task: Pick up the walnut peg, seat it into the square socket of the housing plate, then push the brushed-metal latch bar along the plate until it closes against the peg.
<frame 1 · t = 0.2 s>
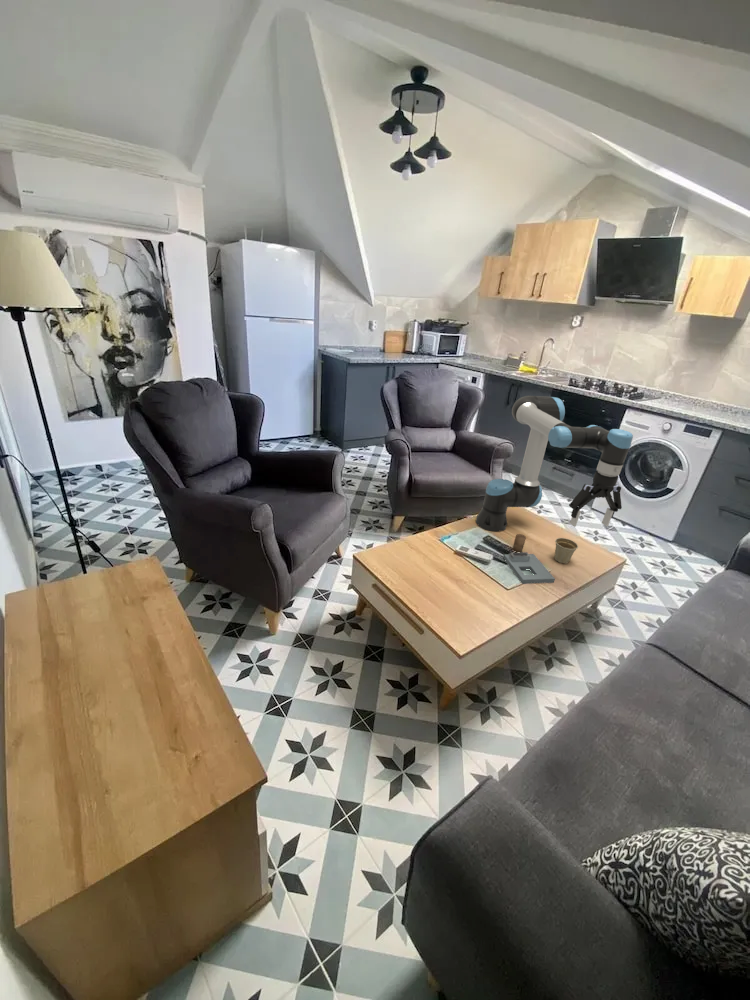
hand: (588, 524, 158), 27 cm above the table, fingers open, 13 cm apart
walnut peg: (516, 551, 188), on the table
latch bar: (519, 556, 178), point 4 cm above the table, slide at 0.0 cm
flower pot: (561, 560, 185), on the table
housing plate: (527, 570, 176), on the table
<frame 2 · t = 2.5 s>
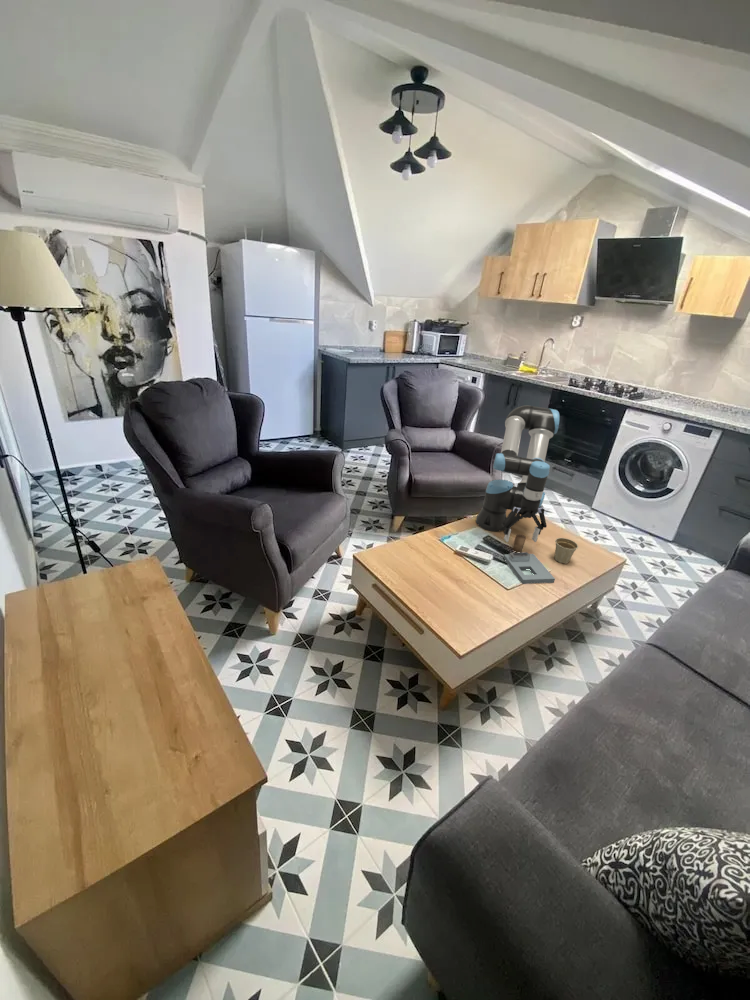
hand: (520, 540, 185), 6 cm above the table, fingers open, 13 cm apart
nothing on the table moved.
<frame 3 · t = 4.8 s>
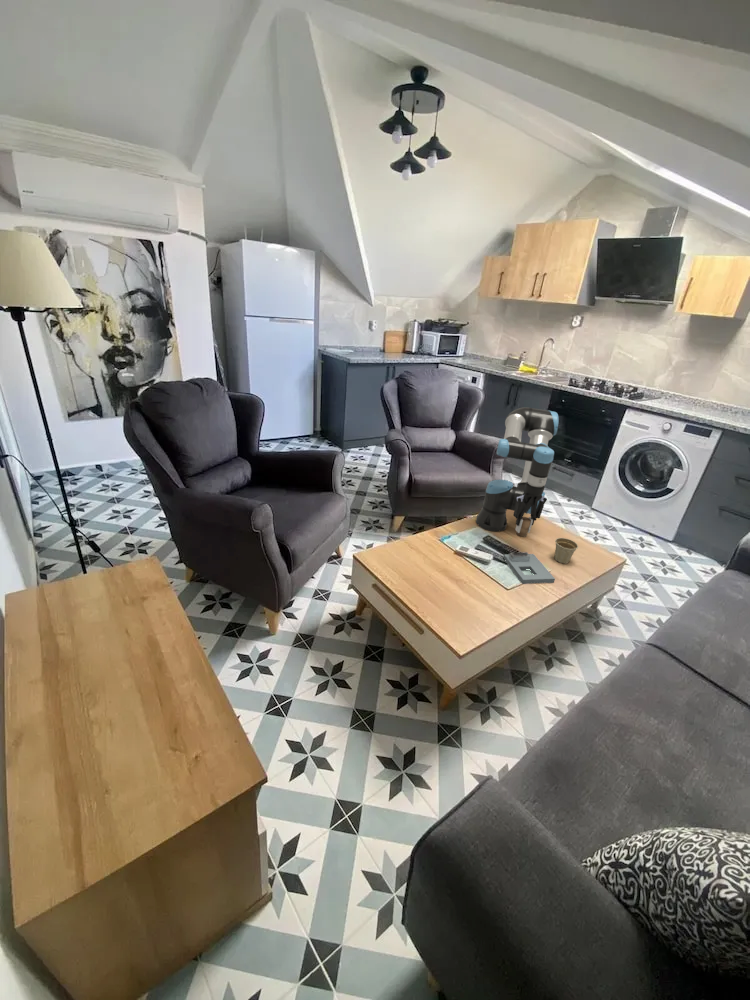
hand: (522, 531, 184), 10 cm above the table, fingers closed on walnut peg, 4 cm apart
walnut peg: (521, 534, 185), point 9 cm above the table, touching gripper
everything else where it was.
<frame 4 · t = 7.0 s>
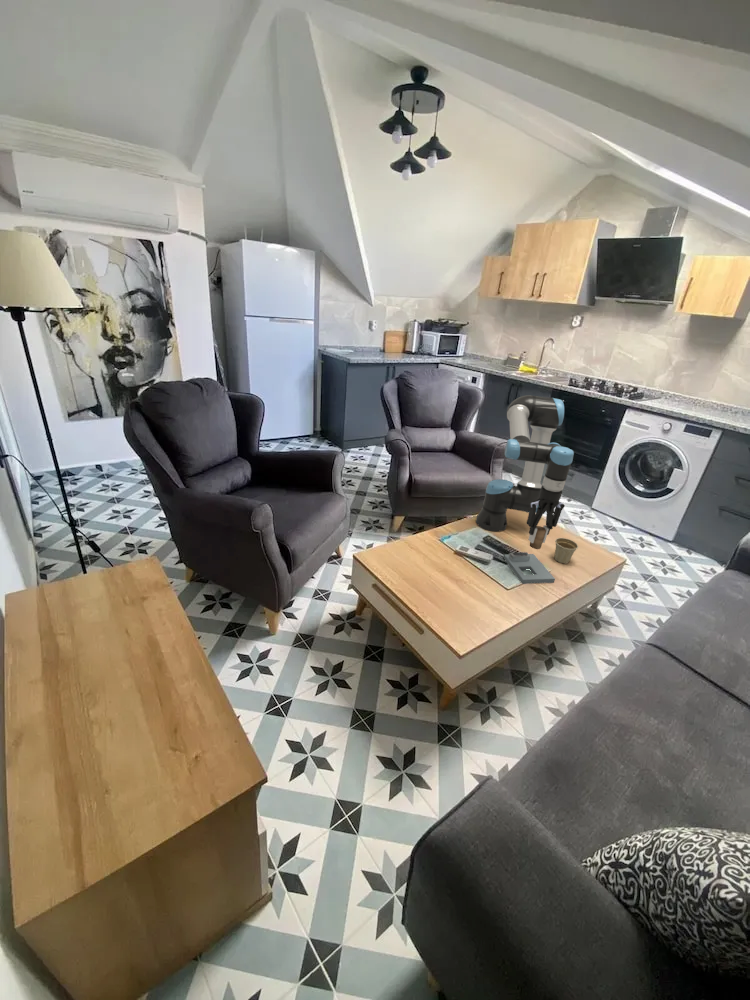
hand: (536, 541, 166), 16 cm above the table, fingers closed on walnut peg, 4 cm apart
walnut peg: (535, 546, 166), point 14 cm above the table, touching gripper
everything else where it was.
when the fingers open (4 cm above the table, at t = 9.4 s): walnut peg drops 1 cm, resting in housing plate.
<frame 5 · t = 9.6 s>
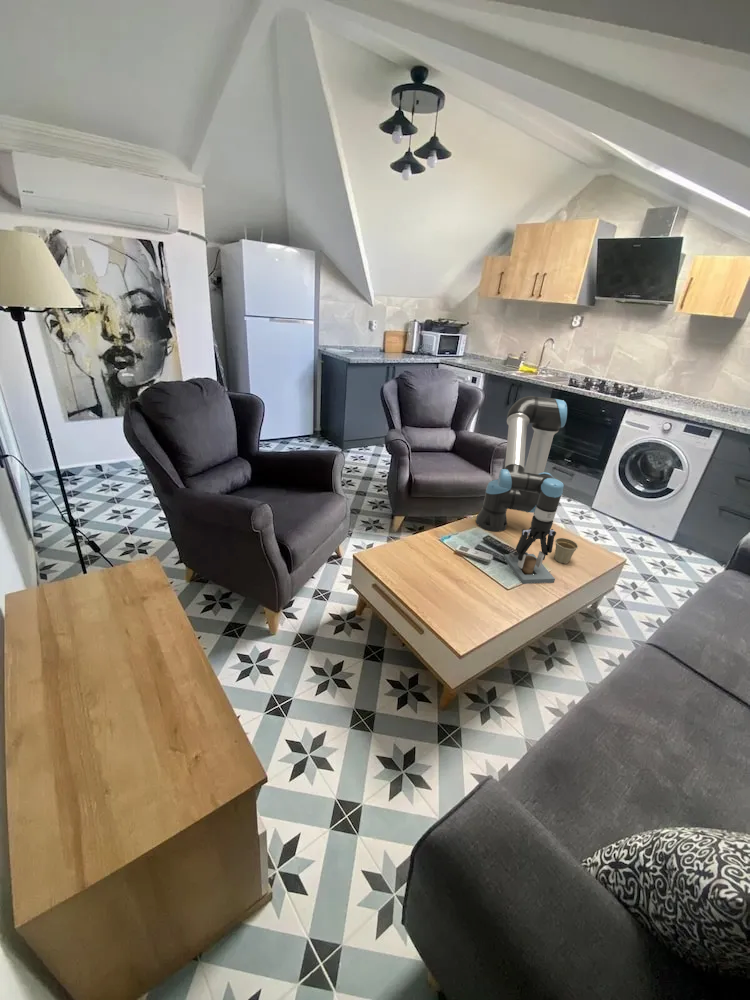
hand: (528, 566, 171), 4 cm above the table, fingers open, 7 cm apart
walnut peg: (526, 574, 173), resting in housing plate
everything else where it was.
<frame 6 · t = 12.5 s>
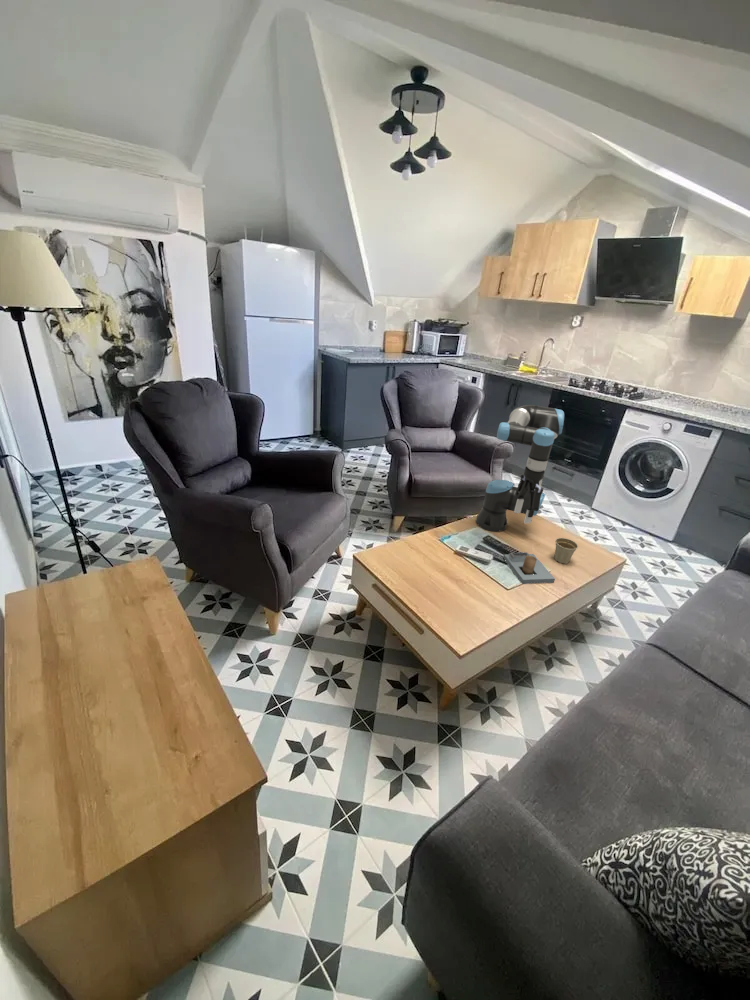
hand: (521, 517, 177), 19 cm above the table, fingers open, 8 cm apart
nothing on the table moved.
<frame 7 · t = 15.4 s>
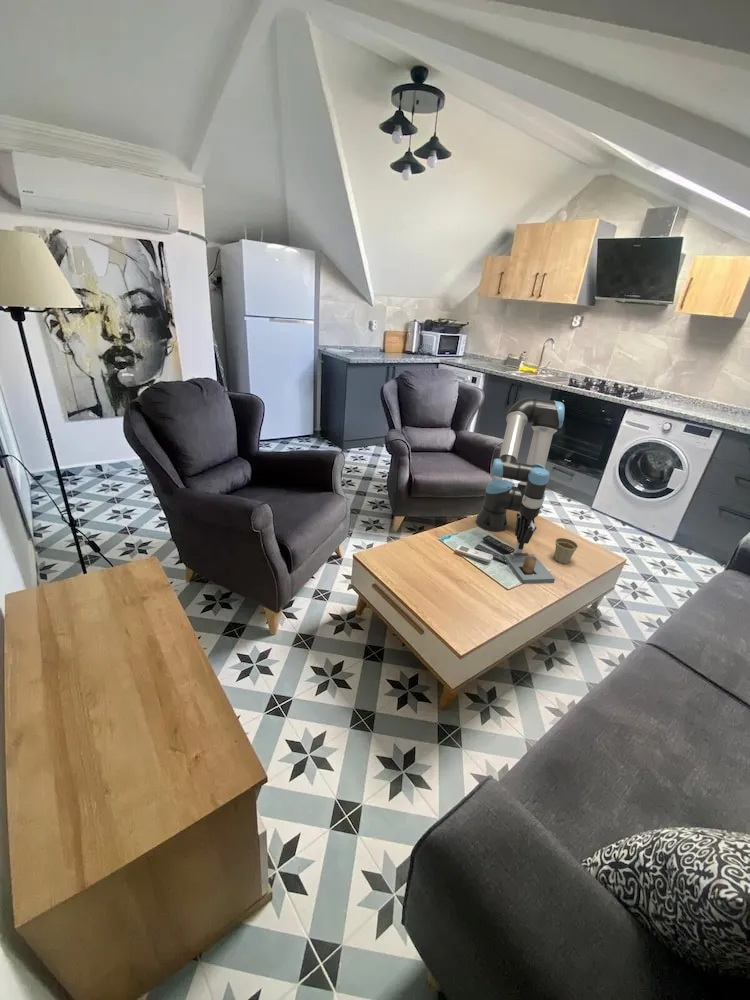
hand: (517, 553, 180), 4 cm above the table, fingers closed
latch bar: (520, 556, 178), point 4 cm above the table, slide at 0.4 cm, touching gripper
everything else where it was.
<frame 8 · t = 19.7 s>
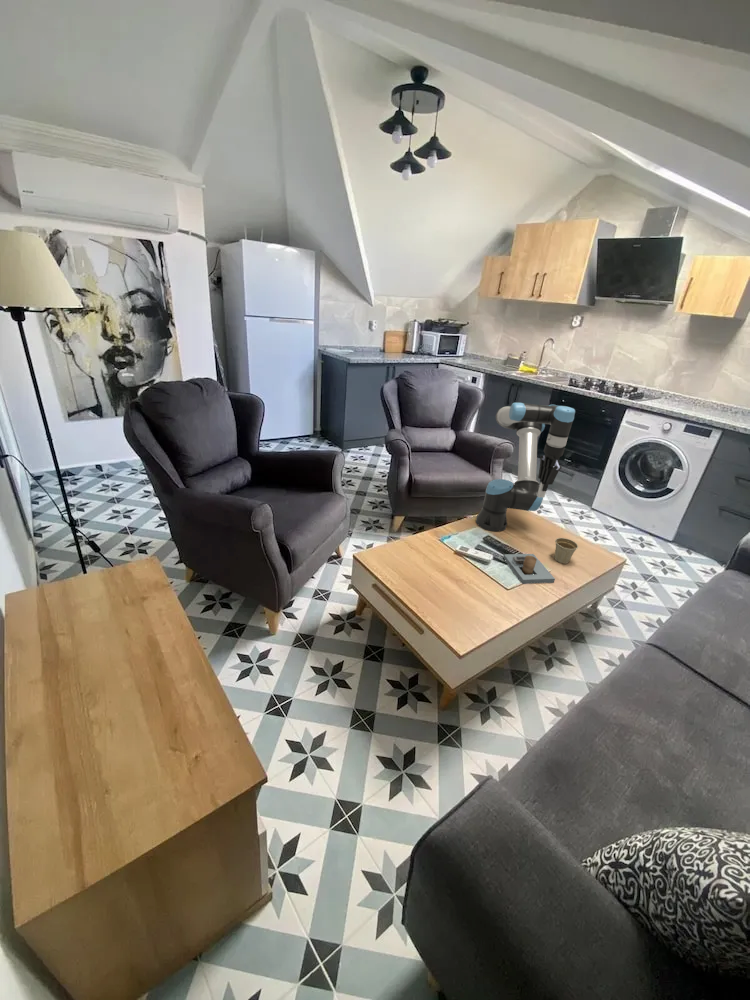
hand: (540, 496, 181), 26 cm above the table, fingers closed
latch bar: (522, 560, 176), point 4 cm above the table, slide at 3.0 cm
everything else where it was.
at the end: walnut peg 0.1 cm from the target spot on the housing plate, point 0.0 cm above the housing plate's base; walnut peg tilted 0°; latch bar slide at 3.0 cm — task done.
